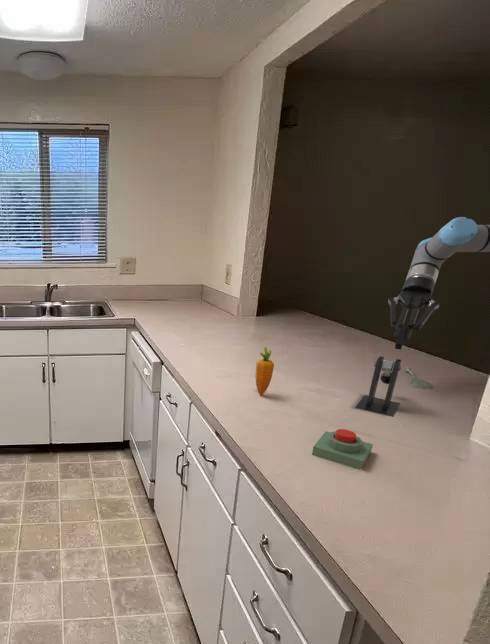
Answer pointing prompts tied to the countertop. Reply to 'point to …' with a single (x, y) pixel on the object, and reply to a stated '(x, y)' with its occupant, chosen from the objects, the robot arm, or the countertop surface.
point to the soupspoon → (417, 381)
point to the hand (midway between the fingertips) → (398, 346)
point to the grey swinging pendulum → (387, 371)
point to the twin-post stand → (386, 405)
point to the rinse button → (345, 436)
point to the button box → (342, 450)
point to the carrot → (264, 372)
